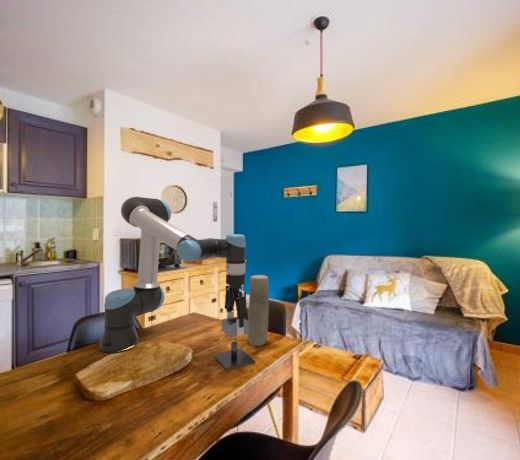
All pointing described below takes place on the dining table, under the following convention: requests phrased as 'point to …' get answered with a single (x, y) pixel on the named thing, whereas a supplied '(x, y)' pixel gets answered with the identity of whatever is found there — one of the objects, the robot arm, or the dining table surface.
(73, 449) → the dining table surface
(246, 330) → the grey square hollow block
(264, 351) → the dining table surface
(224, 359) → the post
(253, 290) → the decorative sculpture
